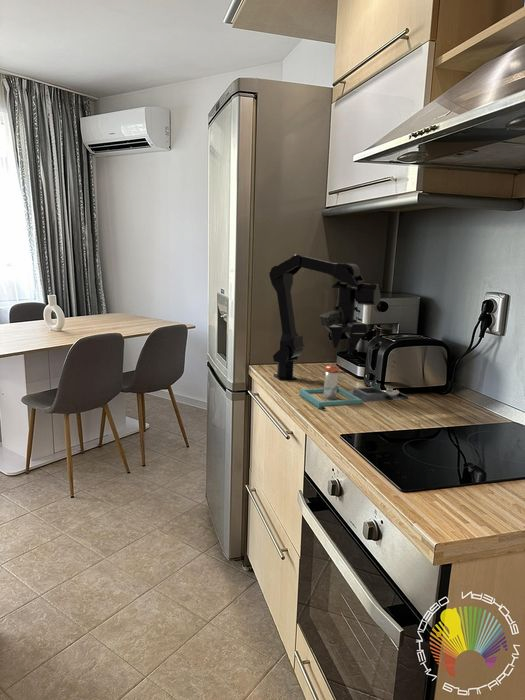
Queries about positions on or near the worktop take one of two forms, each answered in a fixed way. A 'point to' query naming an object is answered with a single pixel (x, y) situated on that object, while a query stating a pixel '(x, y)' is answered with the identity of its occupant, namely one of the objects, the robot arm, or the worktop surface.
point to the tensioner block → (377, 394)
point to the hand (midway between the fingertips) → (342, 350)
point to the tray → (319, 404)
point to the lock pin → (331, 382)
